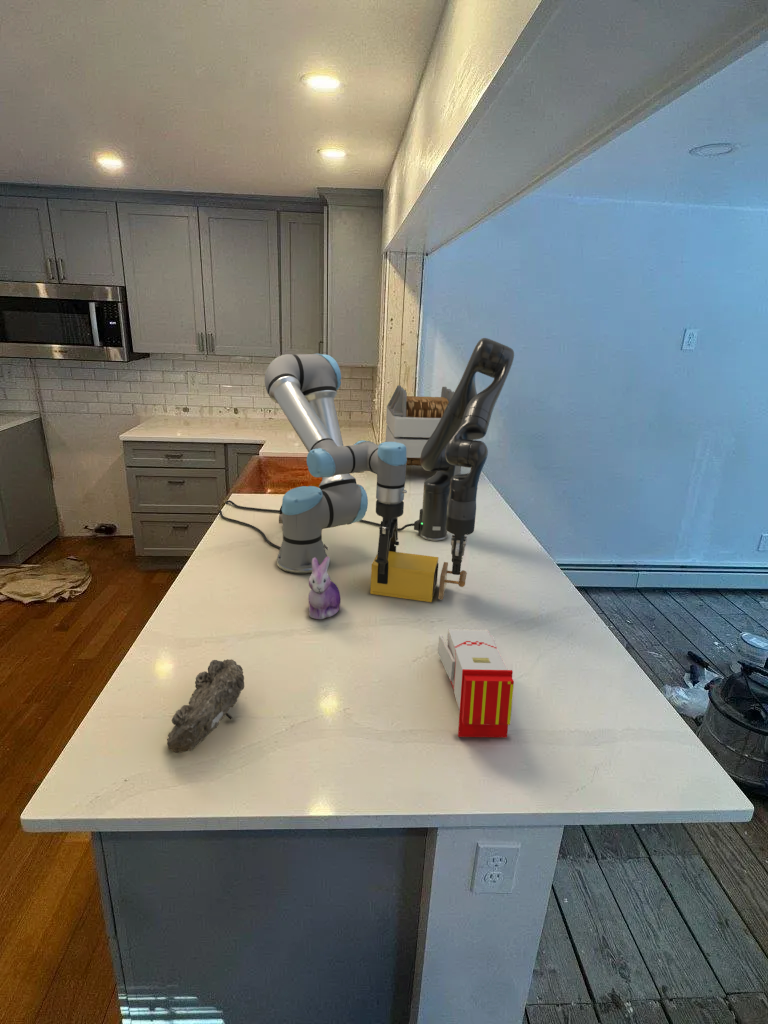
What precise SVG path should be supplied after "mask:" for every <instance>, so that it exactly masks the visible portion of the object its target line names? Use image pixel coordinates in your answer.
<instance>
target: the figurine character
mask: <svg viewBox="0 0 768 1024" xmlns="http://www.w3.org/2000/svg"><path fill="white" fill-rule="evenodd" d="M279 510H280V512H279V516H278V524H279V525H283V523H282V505H280V508H279Z"/></svg>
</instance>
